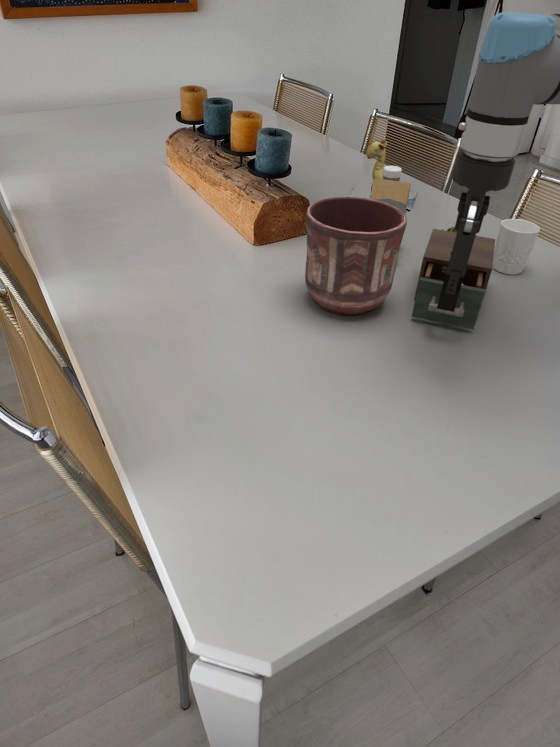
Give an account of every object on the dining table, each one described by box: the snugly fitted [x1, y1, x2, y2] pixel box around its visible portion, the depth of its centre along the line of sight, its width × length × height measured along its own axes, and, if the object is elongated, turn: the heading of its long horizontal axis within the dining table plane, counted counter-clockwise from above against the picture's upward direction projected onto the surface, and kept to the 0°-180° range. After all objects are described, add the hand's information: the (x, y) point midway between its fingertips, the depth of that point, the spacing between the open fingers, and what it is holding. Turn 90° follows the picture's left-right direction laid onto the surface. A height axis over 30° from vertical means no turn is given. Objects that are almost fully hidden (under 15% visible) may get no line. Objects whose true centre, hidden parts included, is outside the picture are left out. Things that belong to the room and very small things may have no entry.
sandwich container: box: [370, 178, 412, 269], centre depth 120 cm, size 9×15×15 cm, turn 166°
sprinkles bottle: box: [383, 165, 403, 182], centre depth 138 cm, size 5×5×13 cm
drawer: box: [411, 262, 486, 330], centre depth 102 cm, size 18×11×8 cm, turn 160°
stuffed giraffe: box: [366, 137, 416, 209], centre depth 151 cm, size 16×18×16 cm
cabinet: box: [413, 228, 496, 309], centre depth 110 cm, size 15×13×10 cm
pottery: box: [304, 196, 408, 316], centre depth 102 cm, size 18×18×18 cm
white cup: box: [492, 218, 541, 276], centre depth 119 cm, size 8×8×10 cm
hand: (445, 307), depth 86 cm, fingers closed
